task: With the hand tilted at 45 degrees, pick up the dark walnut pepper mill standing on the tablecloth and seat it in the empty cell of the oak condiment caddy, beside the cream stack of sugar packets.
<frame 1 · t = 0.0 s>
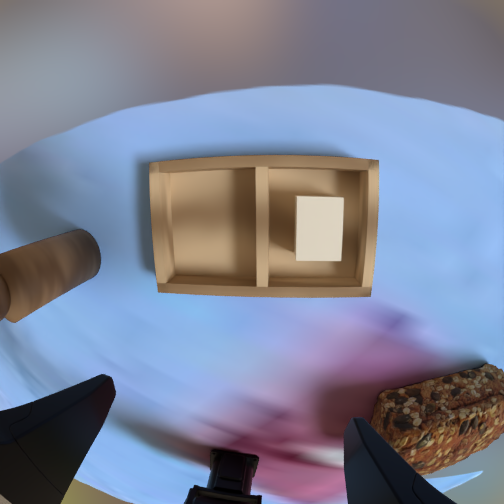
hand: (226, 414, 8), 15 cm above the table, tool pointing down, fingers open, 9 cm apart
caddy: (264, 223, 21), on the table
sugar packets: (315, 224, 20), point 1 cm above the table, touching caddy
pepper mill: (82, 254, 24), on the table
bread: (430, 401, 25), on the table
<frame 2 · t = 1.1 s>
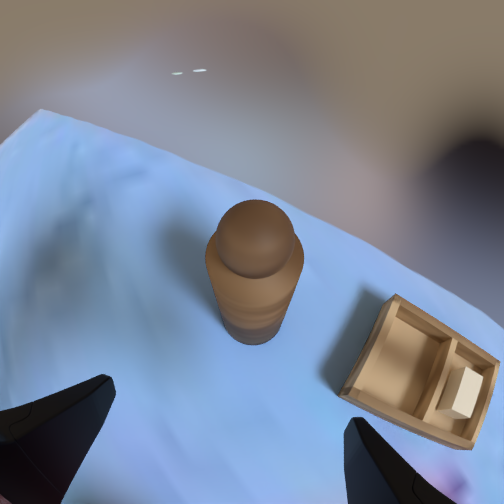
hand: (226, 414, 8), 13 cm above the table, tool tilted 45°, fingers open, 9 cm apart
caddy: (426, 383, 20), on the table
sugar packets: (453, 395, 18), point 1 cm above the table, touching caddy
pepper mill: (252, 316, 24), on the table
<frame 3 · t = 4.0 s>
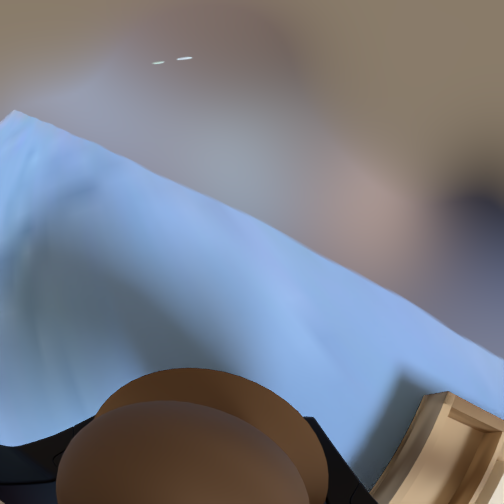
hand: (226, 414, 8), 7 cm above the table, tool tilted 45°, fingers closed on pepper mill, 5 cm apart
caddy: (459, 481, 9), on the table
sugar packets: (486, 486, 7), point 1 cm above the table, touching caddy
pepper mill: (231, 429, 13), on the table, touching gripper
when the fingers open (9 cm above the table, at t = 8.5 s): pepper mill drops 1 cm, resting on caddy.
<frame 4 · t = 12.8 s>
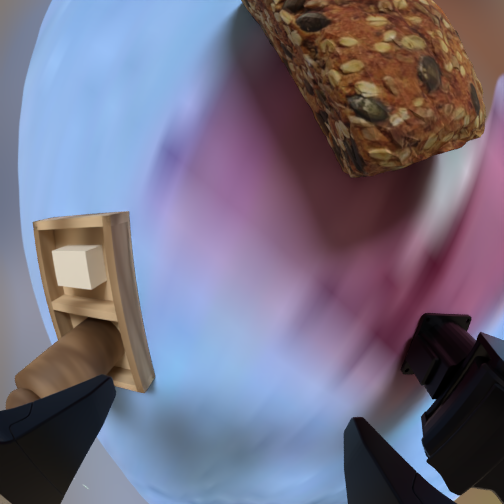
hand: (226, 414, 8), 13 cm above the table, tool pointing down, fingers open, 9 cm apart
caddy: (97, 299, 23), on the table
sugar packets: (86, 262, 21), point 1 cm above the table, touching caddy
pepper mill: (103, 338, 23), point 1 cm above the table, touching caddy
bread: (341, 56, 16), on the table
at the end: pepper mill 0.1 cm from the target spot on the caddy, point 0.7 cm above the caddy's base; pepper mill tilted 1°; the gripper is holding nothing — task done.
